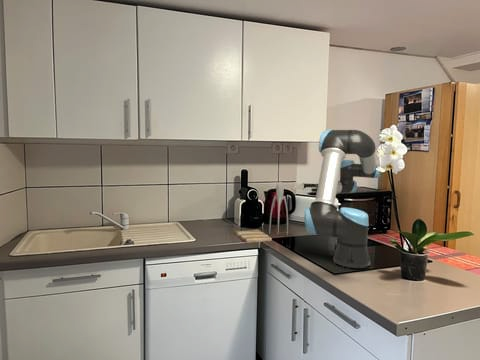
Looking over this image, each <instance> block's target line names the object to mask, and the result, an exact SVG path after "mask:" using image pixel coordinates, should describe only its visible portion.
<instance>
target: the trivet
mask: <svg viewBox="0 0 480 360" xmlns="http://www.w3.org/2000/svg"><path fill="white" fill-rule="evenodd" d="M234 234H235V235H236V236H237V237H239V239H241V240H243V242H245V243H247V244H248V243H260V242H261V243H262V242H272V240H273V238H272V237H271V236H269V235H268V234H266V233H265V232H264V231H261V230H260V229H250V230H236V231H235V232H234Z"/></svg>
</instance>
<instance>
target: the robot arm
mask: <svg viewBox="0 0 480 360" xmlns="http://www.w3.org/2000/svg"><path fill="white" fill-rule="evenodd" d="M318 143H319V144H318V151H319V153H320V154H321V157H322V158H323V159H322V163H321V167H320V168H321V170H320V173H319V174H320V175H319V179H318V183H294V184H293V185H292V186H293V190H303V191H304V192H305V193H316V194H315V200H314V201H311V203H310V207H309V206H308V207H306V208H305V211H304V227H305V230H306V232H307V233H308V234H309V235H315V236H323V237H330V238H337V239H338V241H337V243H338V244H337V247H336V249H335V252H334V255H333V257H332V258H333V260H332V261H334V262H335V263H337V264H339V265H342V266H347V267H365V266H369V265H370V266H371V258H370V254H369V251H368V238H369V237H368V235H369V233H368V232H369V226H370V223H369V215H368V213H367V212H365V211H363V210H361V209H357V208H353V207H340V208H339V210H338V206H336V204H335V202H336V196H337V194H351V193H355V192H356V191H357V190H358V185H357V184H358V183H357V182H356V181H355V180H354V177H355V178H371V179H380V177H381V172H378V171H377V170H376V168H377V167H378V166H379V165H380V164H377V161H376V157H375V152H376V143H375V141H374V139H373V138H371V136H370V135H369V134H367V133H366V132H363V131H361V130H358V129H325V130H324V131H322V133H321V135H320V137H319V141H318ZM347 155H357V157H358V158H359V162H360V163H355V160H353V159H346V157H347ZM334 262H333V263H334ZM335 263H334V264H335Z"/></svg>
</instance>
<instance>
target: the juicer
mask: <svg viewBox="0 0 480 360" xmlns="http://www.w3.org/2000/svg"><path fill="white" fill-rule="evenodd" d="M275 188H276V189H275V195H273V199H272V203H271V208H270V214H269V215H270V216H269V228H268V232H269V233H268V234H269V235H270V234H271V228H272V227H271V225H272V215H273V210H274V205H275V202H276V201H277V233H279V229H280V217H281V213H280V212H281V204H282V201H284V202H283V203H284V206H285V211H286V212H285V213H286V235H287V236H288V234H289V212H288V211H289V210H288V202H287V198H286V196H285V195H284V190H285V186H284V183H283V182H282V181H279V182H277V183H276V187H275Z"/></svg>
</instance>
